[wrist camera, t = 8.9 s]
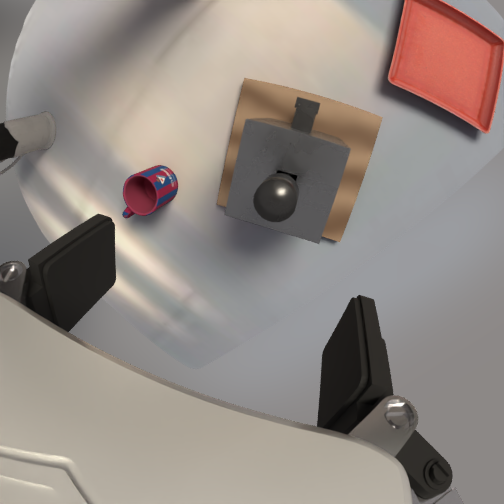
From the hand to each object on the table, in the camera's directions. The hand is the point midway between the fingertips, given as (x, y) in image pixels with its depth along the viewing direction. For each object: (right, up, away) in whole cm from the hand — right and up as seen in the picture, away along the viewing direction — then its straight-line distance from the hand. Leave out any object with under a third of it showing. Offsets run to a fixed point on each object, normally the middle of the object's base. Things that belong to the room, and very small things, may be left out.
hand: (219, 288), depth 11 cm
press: (+8, +16, +29) cm, 34 cm away
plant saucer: (+30, +30, +19) cm, 47 cm away
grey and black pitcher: (-46, +26, +39) cm, 66 cm away
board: (+8, +15, +31) cm, 35 cm away
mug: (-16, +12, +38) cm, 43 cm away
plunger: (+7, +14, +29) cm, 33 cm away
